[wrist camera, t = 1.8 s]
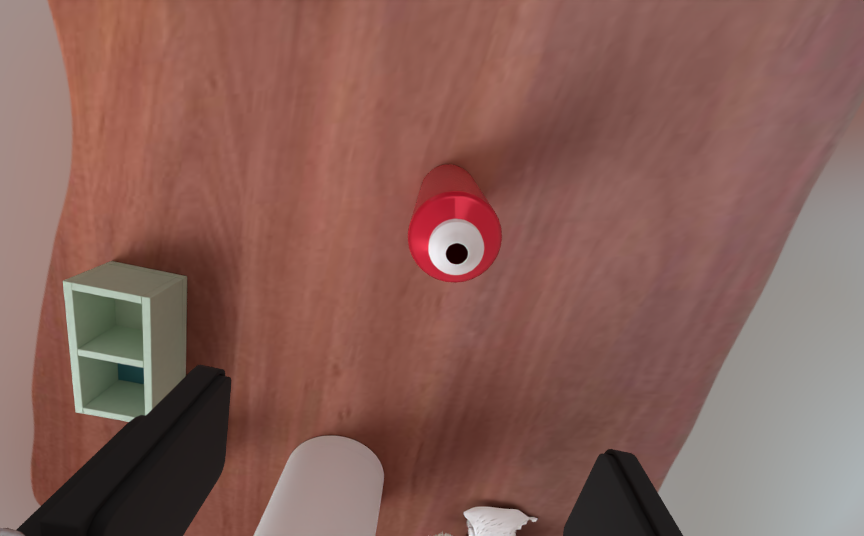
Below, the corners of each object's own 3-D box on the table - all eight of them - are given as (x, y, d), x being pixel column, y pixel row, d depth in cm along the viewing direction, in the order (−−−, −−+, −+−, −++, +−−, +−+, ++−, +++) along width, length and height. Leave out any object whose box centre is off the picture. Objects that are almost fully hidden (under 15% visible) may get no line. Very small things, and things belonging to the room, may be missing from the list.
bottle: (455, 152, 38) (472, 177, 19) (486, 199, 39) (531, 266, 20) (409, 186, 39) (381, 240, 20) (441, 230, 40) (443, 321, 22)
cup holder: (117, 379, 47) (75, 412, 41) (111, 260, 42) (62, 280, 37) (185, 391, 47) (152, 426, 42) (187, 276, 42) (150, 298, 37)
